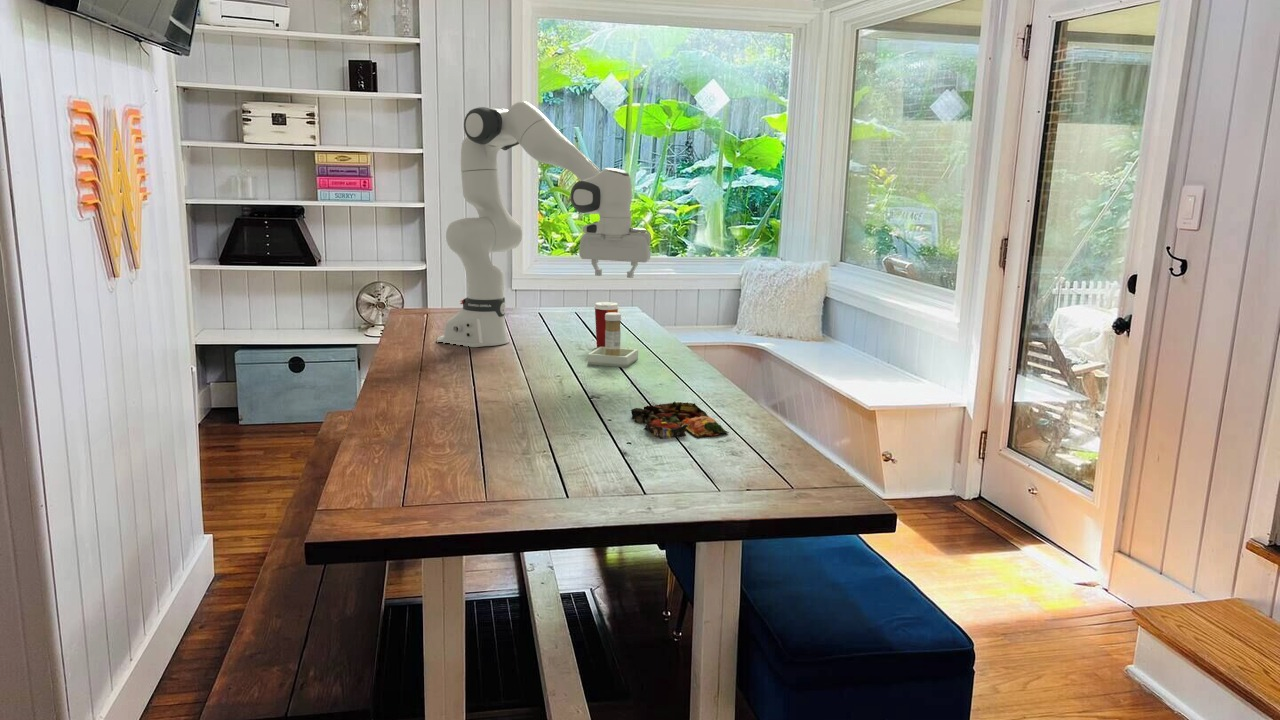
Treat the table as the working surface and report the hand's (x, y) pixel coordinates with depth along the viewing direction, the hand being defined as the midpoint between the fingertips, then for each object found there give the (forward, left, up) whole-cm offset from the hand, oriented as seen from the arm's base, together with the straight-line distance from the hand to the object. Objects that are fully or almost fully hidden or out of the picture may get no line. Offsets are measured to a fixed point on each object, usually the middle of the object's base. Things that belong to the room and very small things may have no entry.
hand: (614, 276), depth 262 cm
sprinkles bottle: (0, 0, -24) cm, 24 cm away
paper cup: (-8, +18, -25) cm, 32 cm away
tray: (0, 0, -25) cm, 25 cm away
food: (+33, -56, -26) cm, 70 cm away
